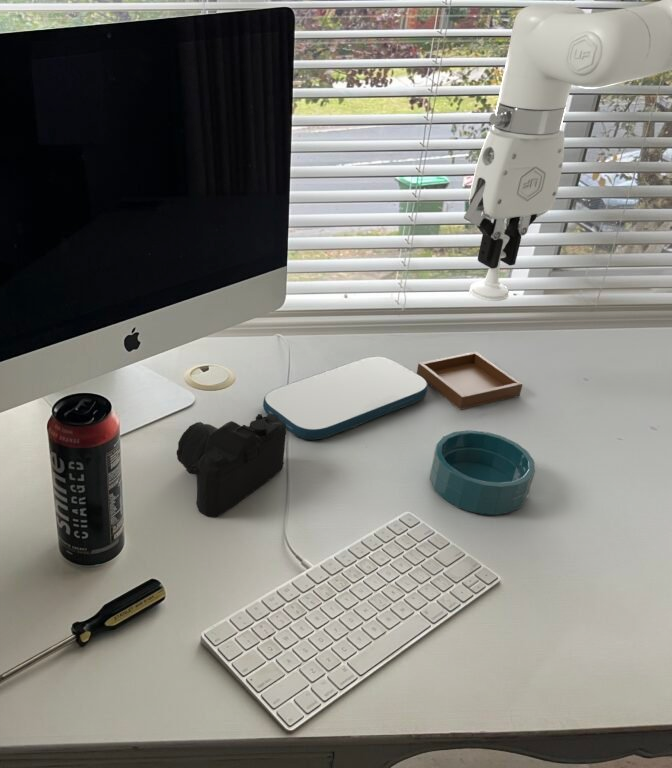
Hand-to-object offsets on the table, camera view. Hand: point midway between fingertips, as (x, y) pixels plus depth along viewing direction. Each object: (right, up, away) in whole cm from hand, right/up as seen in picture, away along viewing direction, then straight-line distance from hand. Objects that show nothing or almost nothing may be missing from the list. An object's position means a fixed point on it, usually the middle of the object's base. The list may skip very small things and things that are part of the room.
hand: (496, 262), depth 105 cm
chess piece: (0, -4, +2) cm, 5 cm away
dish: (-6, -28, -9) cm, 30 cm away
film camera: (-36, -28, -7) cm, 46 cm away
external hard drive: (-18, -19, +8) cm, 27 cm away
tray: (+1, -16, +11) cm, 20 cm away
